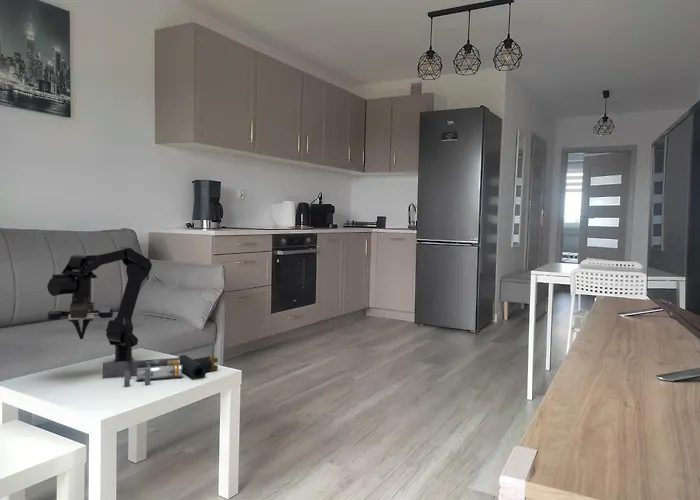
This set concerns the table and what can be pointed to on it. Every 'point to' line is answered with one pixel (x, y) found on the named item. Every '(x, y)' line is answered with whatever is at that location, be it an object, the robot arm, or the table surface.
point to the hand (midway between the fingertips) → (81, 338)
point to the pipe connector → (198, 365)
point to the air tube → (160, 372)
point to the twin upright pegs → (128, 374)
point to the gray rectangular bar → (134, 366)
